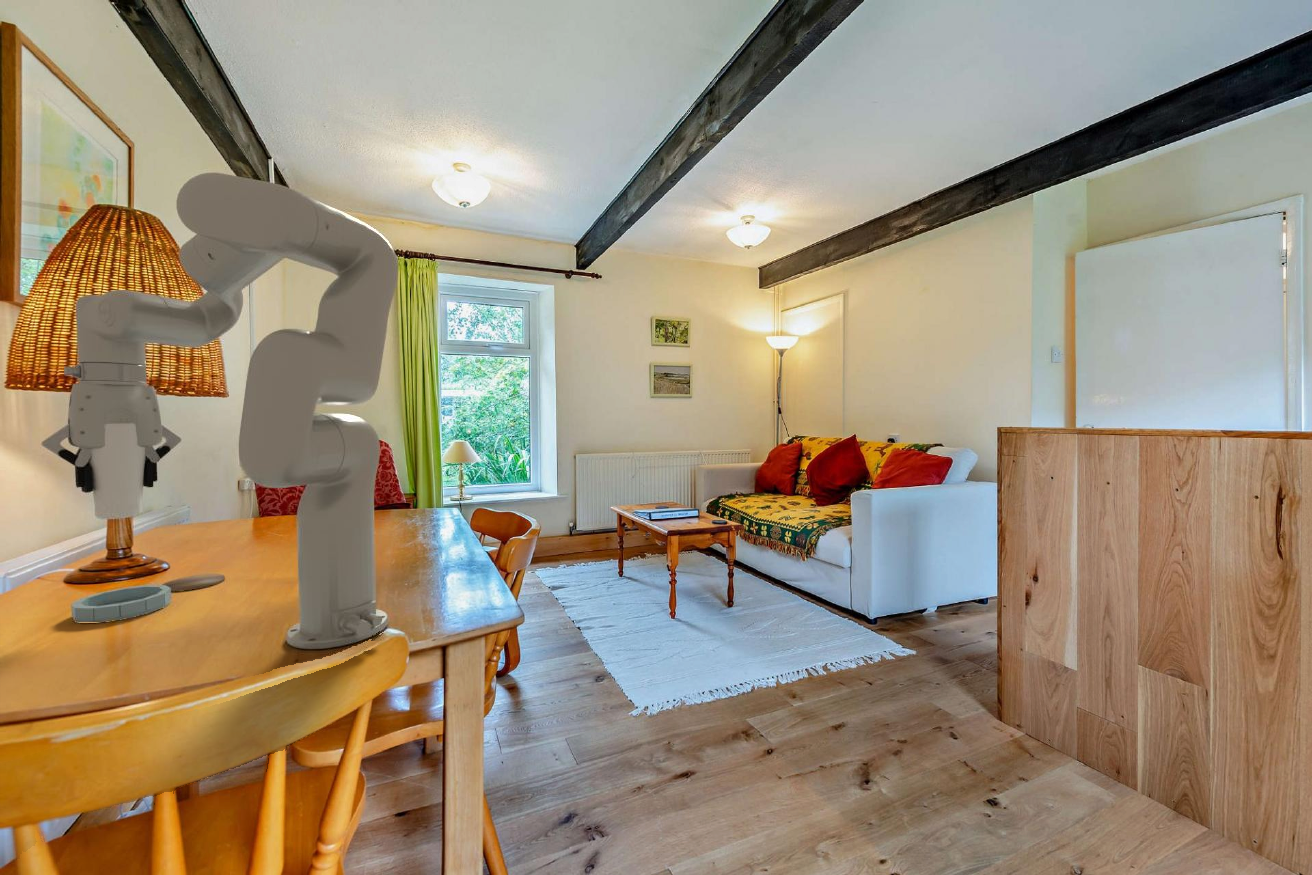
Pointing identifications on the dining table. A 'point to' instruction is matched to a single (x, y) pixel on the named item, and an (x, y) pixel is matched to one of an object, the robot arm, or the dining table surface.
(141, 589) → the round dish
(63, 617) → the dining table surface
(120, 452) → the drinking glass
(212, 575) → the walnut coaster
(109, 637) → the dining table surface
